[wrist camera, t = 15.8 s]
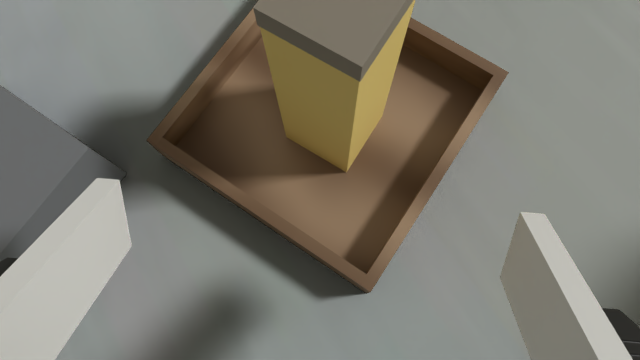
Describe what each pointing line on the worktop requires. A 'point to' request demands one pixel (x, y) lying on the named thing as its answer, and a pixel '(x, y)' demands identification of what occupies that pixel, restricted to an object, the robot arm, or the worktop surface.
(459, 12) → the worktop surface
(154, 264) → the worktop surface
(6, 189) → the grey block with hole
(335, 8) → the plug
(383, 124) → the tray
